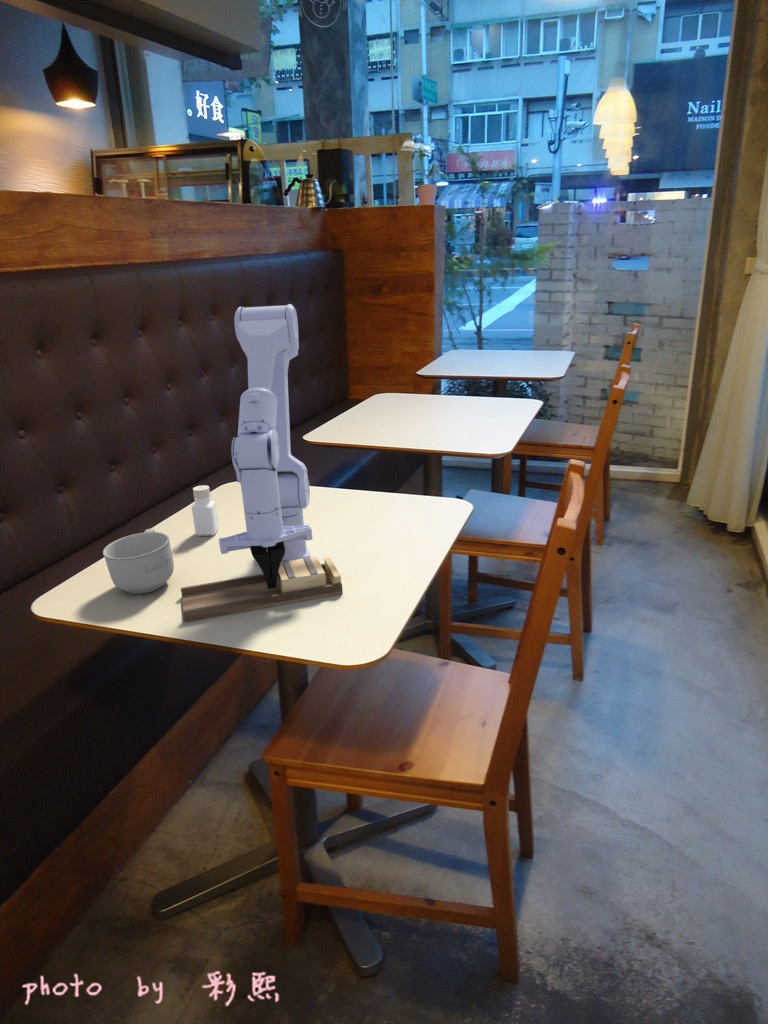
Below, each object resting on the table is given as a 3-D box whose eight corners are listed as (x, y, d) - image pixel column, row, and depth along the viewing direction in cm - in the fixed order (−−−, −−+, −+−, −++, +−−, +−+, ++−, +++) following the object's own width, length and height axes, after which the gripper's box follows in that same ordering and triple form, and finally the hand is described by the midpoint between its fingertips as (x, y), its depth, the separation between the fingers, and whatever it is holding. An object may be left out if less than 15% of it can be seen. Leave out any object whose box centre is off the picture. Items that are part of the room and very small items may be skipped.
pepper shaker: (215, 536, 147) (208, 490, 144) (195, 537, 148) (188, 491, 144) (219, 528, 151) (213, 484, 148) (200, 529, 151) (193, 485, 148)
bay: (182, 597, 123) (179, 581, 122) (330, 571, 129) (329, 556, 128) (184, 622, 115) (181, 605, 114) (342, 593, 121) (341, 577, 120)
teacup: (159, 602, 122) (151, 557, 119) (98, 599, 124) (89, 555, 121) (194, 565, 135) (188, 524, 132) (139, 564, 137) (131, 523, 134)
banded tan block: (277, 580, 126) (274, 561, 125) (317, 573, 127) (316, 554, 126) (283, 598, 119) (281, 578, 118) (326, 590, 121) (324, 571, 120)
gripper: (217, 523, 112) (229, 604, 117) (312, 509, 115) (320, 588, 120) (213, 508, 118) (225, 585, 123) (304, 495, 122) (311, 570, 127)
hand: (271, 585), depth 122 cm, fingers closed
